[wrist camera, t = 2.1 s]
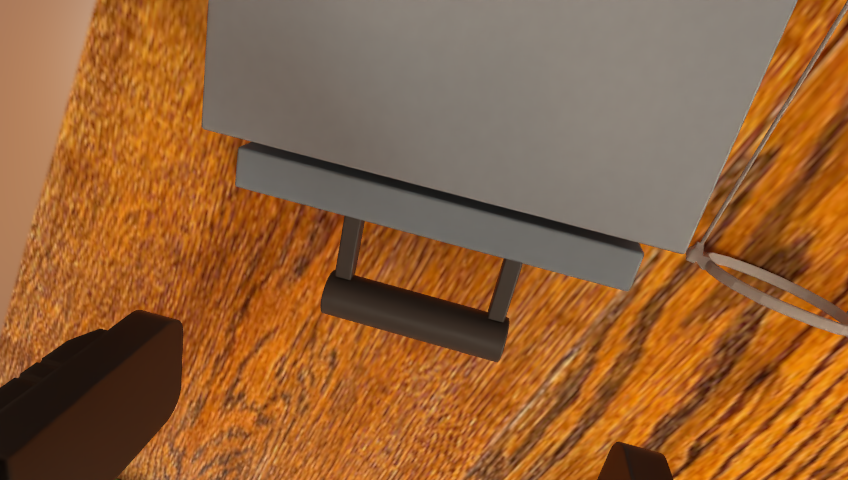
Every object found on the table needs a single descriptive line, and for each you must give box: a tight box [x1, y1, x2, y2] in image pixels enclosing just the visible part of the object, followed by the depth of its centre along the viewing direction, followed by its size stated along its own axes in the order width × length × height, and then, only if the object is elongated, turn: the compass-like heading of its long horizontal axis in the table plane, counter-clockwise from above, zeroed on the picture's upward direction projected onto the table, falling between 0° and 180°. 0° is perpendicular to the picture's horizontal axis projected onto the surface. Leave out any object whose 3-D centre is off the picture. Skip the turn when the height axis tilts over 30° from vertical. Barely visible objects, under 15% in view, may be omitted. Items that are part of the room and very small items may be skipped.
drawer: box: [235, 142, 644, 362], centre depth 17 cm, size 18×11×8 cm, turn 168°
